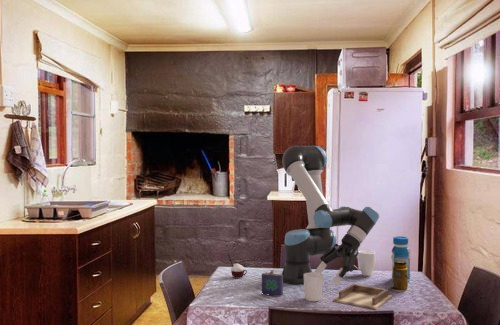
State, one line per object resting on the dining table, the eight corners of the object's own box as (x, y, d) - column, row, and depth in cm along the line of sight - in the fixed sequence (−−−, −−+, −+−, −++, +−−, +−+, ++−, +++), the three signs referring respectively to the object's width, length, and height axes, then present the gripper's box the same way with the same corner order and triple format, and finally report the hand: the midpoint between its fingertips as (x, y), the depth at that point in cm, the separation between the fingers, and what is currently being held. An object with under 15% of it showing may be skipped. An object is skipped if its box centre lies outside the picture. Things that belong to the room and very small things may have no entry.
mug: (372, 272, 229) (372, 249, 228) (377, 276, 220) (377, 253, 220) (348, 273, 228) (348, 250, 228) (353, 277, 220) (353, 253, 220)
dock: (333, 301, 184) (333, 292, 184) (351, 290, 199) (351, 282, 199) (376, 309, 174) (376, 300, 174) (392, 297, 188) (392, 289, 188)
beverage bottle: (400, 282, 209) (399, 239, 209) (387, 278, 217) (387, 236, 217) (414, 280, 213) (414, 238, 213) (401, 276, 221) (401, 235, 220)
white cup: (302, 296, 191) (301, 272, 191) (320, 295, 192) (320, 272, 192) (305, 302, 183) (305, 277, 183) (325, 301, 184) (324, 276, 184)
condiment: (412, 289, 200) (411, 261, 200) (399, 292, 195) (399, 264, 195) (398, 285, 206) (398, 258, 206) (385, 288, 201) (385, 261, 201)
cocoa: (247, 276, 225) (248, 252, 225) (245, 279, 219) (246, 254, 219) (228, 275, 227) (229, 251, 227) (225, 278, 220) (226, 253, 221)
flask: (283, 294, 194) (283, 269, 194) (282, 296, 191) (281, 271, 191) (262, 293, 196) (262, 268, 196) (260, 295, 194) (260, 270, 193)
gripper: (378, 249, 183) (348, 292, 177) (341, 239, 206) (314, 277, 200) (367, 237, 181) (337, 280, 175) (331, 229, 203) (303, 267, 197)
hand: (324, 279), depth 187 cm, fingers open, 13 cm apart
